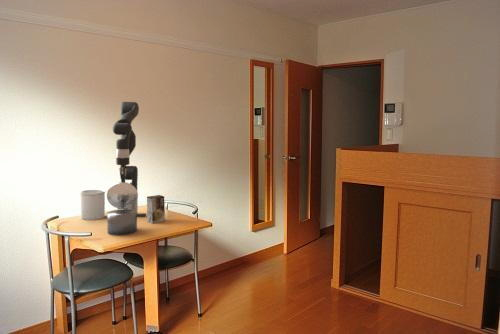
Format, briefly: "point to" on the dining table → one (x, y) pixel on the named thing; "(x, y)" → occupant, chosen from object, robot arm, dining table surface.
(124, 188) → the pot lid
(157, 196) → the coffee box
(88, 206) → the utensil holder
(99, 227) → the dining table surface
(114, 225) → the steel pot
